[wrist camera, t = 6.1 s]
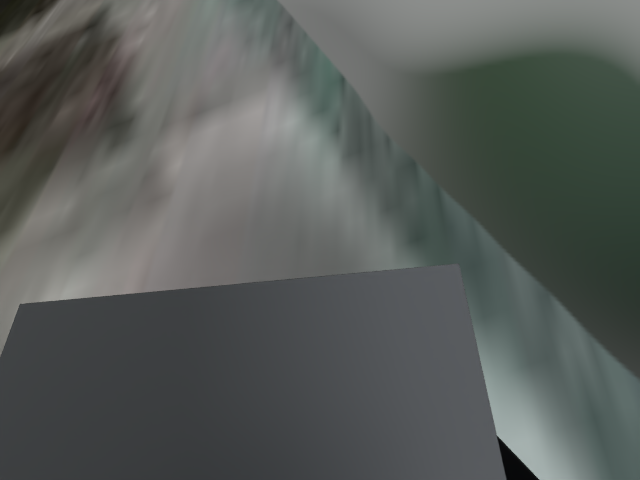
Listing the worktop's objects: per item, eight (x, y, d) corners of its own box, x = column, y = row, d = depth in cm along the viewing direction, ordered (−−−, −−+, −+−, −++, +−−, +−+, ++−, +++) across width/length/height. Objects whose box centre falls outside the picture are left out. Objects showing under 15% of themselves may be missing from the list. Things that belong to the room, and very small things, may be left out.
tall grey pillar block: (432, 526, 12) (705, 1383, 1) (279, 522, 13) (-248, 1033, 2) (411, 372, 14) (459, 263, 4) (282, 378, 15) (20, 304, 5)
